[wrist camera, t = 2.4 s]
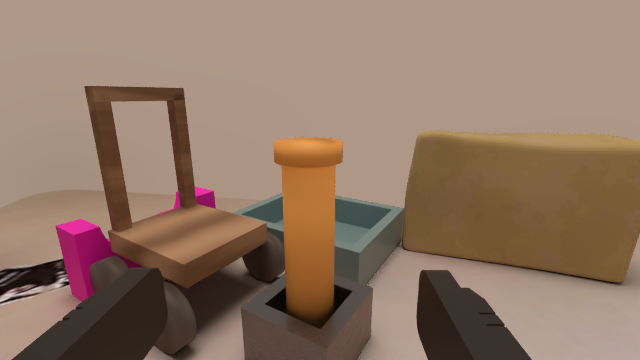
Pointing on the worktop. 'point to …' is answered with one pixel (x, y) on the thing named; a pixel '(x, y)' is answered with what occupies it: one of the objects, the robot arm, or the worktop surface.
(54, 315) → the worktop surface
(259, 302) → the pin socket
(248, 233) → the trolley
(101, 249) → the toy block
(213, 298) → the worktop surface
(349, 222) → the tray
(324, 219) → the pin
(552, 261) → the cheese
